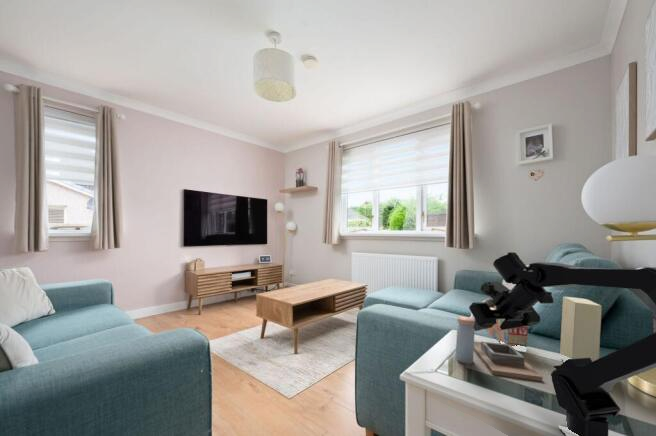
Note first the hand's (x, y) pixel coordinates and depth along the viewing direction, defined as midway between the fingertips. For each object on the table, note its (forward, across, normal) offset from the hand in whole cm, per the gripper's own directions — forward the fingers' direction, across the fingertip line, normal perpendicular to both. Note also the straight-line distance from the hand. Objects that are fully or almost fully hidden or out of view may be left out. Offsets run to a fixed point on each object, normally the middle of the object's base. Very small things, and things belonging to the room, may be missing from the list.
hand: (488, 328), depth 80 cm
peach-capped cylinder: (+15, +1, +3) cm, 15 cm away
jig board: (+13, -11, +4) cm, 18 cm away
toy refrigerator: (+9, -34, +9) cm, 37 cm away
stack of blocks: (+23, -27, -7) cm, 36 cm away
